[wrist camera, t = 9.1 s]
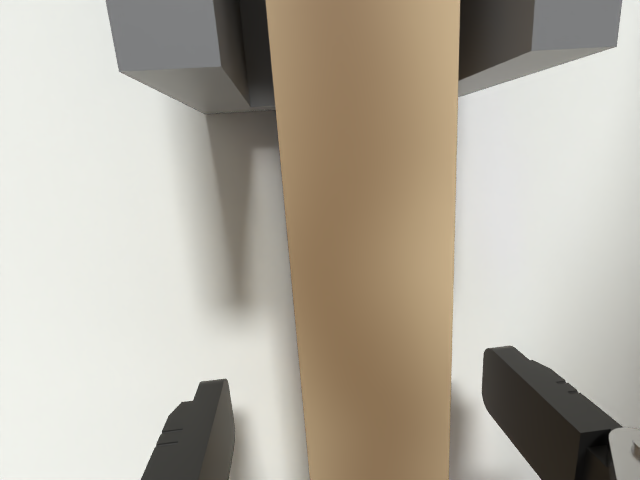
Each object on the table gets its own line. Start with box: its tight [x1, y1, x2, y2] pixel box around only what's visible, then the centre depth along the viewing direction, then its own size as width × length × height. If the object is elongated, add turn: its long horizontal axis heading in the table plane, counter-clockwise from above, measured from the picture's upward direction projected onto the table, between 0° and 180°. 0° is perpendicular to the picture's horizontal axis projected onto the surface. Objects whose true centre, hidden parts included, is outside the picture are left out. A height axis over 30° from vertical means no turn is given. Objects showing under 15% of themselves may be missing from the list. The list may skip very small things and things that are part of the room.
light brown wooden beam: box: [266, 0, 460, 480], centre depth 11 cm, size 4×24×4 cm, turn 4°
